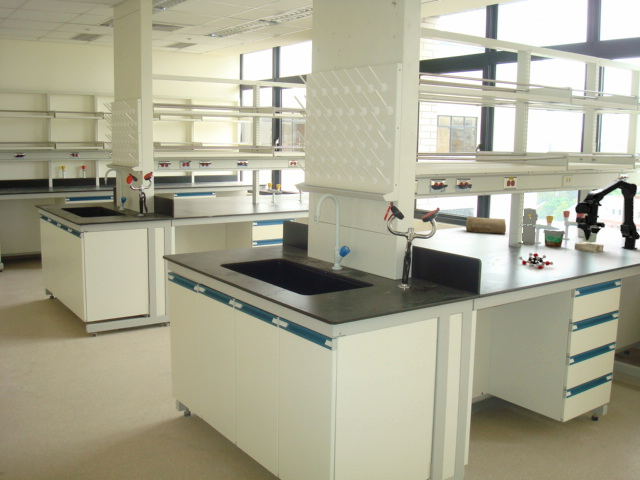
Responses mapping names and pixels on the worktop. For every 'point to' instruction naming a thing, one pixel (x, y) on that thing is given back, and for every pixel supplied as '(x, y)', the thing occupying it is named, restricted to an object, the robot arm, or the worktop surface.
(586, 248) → the birch block
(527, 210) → the grey tall slab
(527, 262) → the molecular model
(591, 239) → the sage cube
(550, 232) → the food container
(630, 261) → the worktop surface
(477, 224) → the core sample
